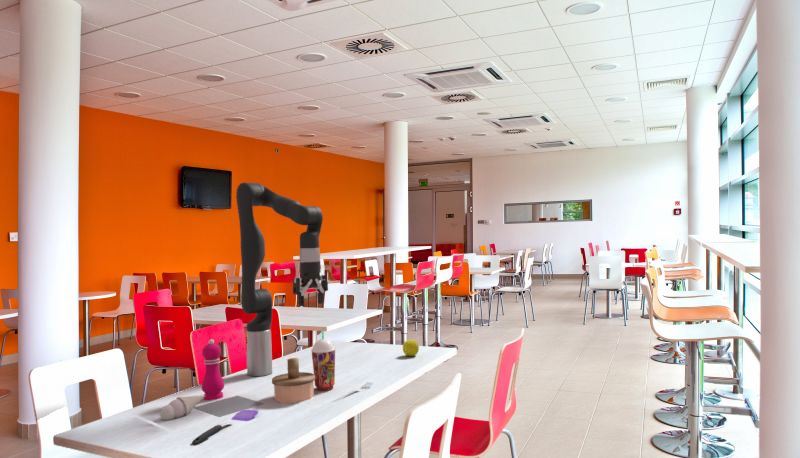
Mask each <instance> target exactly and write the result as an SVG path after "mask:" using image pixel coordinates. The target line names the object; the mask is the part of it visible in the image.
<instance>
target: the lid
mask: <svg viewBox="0 0 800 458" xmlns="http://www.w3.org/2000/svg"><path fill="white" fill-rule="evenodd" d="M299 360H300V359H299V358H298V357H290V358H288V359H287V372H286V373H282V374H279V375H275V376H274V377H272V379H271V383H272V385H273V386H274V385H277V386H298V385H304V384H308V383H311V382H313V383H314V382H315V375H314V373H312V372H304V371H303V372H302V371H299V370H300V363H299Z"/></svg>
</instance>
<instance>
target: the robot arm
mask: <svg viewBox="0 0 800 458" xmlns="http://www.w3.org/2000/svg"><path fill="white" fill-rule="evenodd" d="M235 193H236V194H235V195H236V196H235V197H236V205H237V206H236V207H237V212H238V220H239V231H240V232H239V234H240V235H239V236H240V256H241V257H240V258H241V286H240V287H241V290H240V304H241V308H242V311H243V312H244V313H245V314H247V315H251V314H256V315H255V317H253V319H252V320H250V321H248V323H246V343H247V344H246V346H247V349H246V369H247V374H248V376H249V377H262V376H267V375H270V374H272V373H273V354H272V353H273V352H272V351H273V350H272V349H273V348H272V331H271V330H272V327H271V326H272V323H273V297H272V294H271V292H270V290H269V289H267V288H256V279H257V275H258V272H259V270H260V269H261V267H262V264H263V262H264V260H265V257H266V245H265V237H264V235H263V233H262V231H261V229H260V228H259V226H258V224H257V222H256V220H255V217H254V209H253V207H266V208H271V209H272V210H273V211H274V212H275V213H277V214H278V215H280V216H282V217H285V218H287V219H290V220H291V221H293V222H294V223H295V224H298V225H300V226H306V230H305V231H303V232H301V233H300V234H299V273H300V277H293V279H292V294H293V295H295V296H296V295H297V303H298V305H299V307H304V306H305V294H306V292H307V291H308V290H310V289H315V290H316V292H317V304H321V305H322V304H323V303H324V300H325V296H324V295H325V293H326V292H328V291H329V286H328V285H329V283H328V275H327V274H321V270H322V269H321V268H322V267H321V252H320V251H321V250H320V234H321V229H322V225H323V221H324V215H323V212H322V209H321V208H320V207H319V206H315V205H312V206H311V205H302V204H301V203H300V202H299V201H297V200H295V199H292V198H288V197H286V196H283V195H280V194H278V193H276V192H274V191H272V190H271V189H270V188H268V187H266V186H264V185H263V184H261V183H259V182H258V183H256V182H241V183H239V184H238V185H237V188H236V191H235Z"/></svg>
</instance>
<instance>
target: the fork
mask: <svg viewBox="0 0 800 458" xmlns="http://www.w3.org/2000/svg"><path fill="white" fill-rule="evenodd" d="M373 384H374V382H368V381H367V382H366V383H365V384H363V385H362V386H361V387H360V388H359V390H352V391H350V392H348V393H346V394H344V395H342V396H340V397H338V398H335V399H334V400H332V401H331V403H336V402H339V401H341V400H343V399H345V398H346V397H348V396H349V395H351V394H352V393H355V392H357V393H360V392H361V390H365V391H367V390H368V389H369V388H370V387H371V386H372V385H373Z"/></svg>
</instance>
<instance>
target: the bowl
mask: <svg viewBox="0 0 800 458" xmlns="http://www.w3.org/2000/svg"><path fill="white" fill-rule="evenodd" d="M314 390H315V389H314V381H313V382H311V383H308V384H304V385H298V386H277V385H274V384H273V396H274V400H275V401H274V402H278V403H281V404H284V403H286V404H295V403H302V402H305V401H309V400H311V399H312V398H314V397H315V395H314V393H315V391H314Z"/></svg>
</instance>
